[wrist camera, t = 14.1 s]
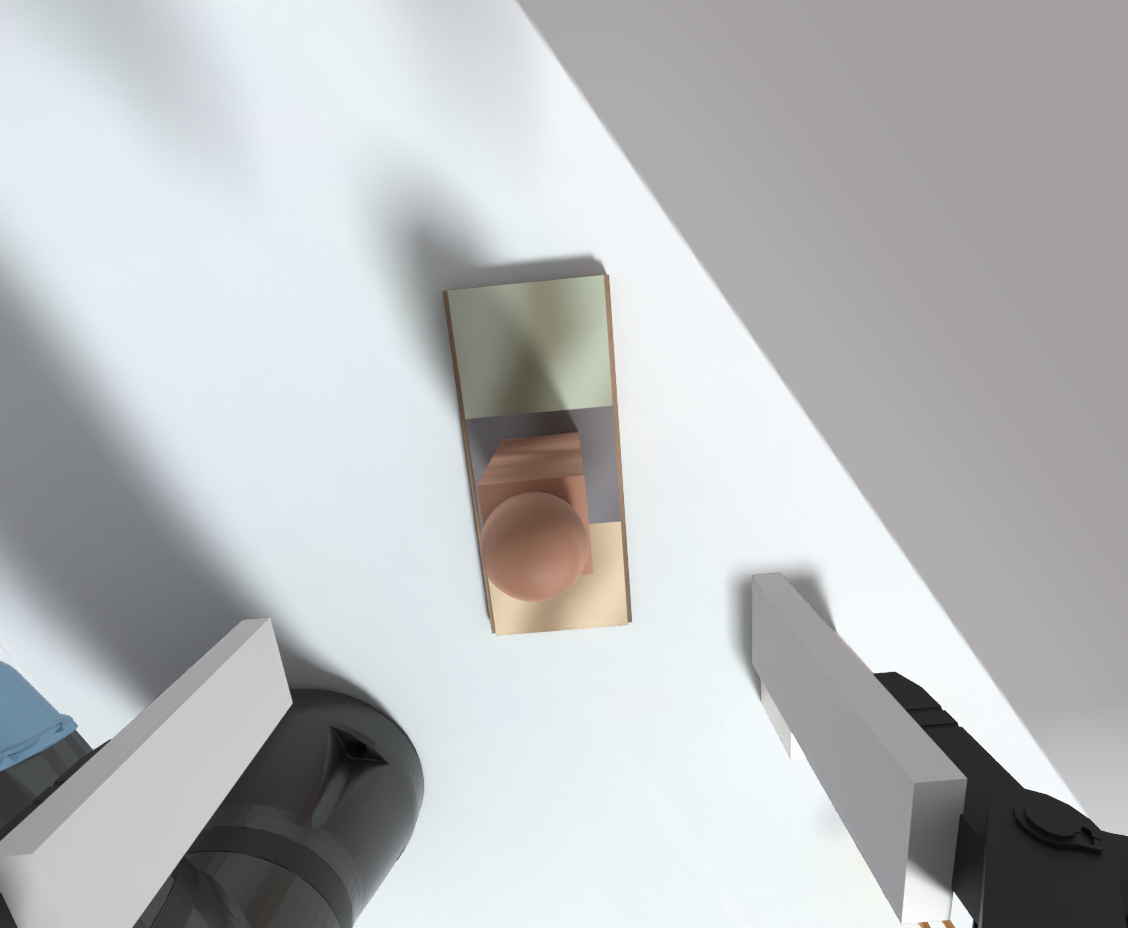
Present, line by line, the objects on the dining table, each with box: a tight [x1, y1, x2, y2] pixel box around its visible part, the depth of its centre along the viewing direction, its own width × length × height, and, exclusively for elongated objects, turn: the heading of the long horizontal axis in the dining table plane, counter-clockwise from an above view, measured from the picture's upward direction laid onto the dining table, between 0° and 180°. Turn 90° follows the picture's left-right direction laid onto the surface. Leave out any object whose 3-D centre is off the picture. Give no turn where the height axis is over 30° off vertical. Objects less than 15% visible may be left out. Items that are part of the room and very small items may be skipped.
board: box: [443, 275, 632, 636], centre depth 31 cm, size 9×21×1 cm, turn 5°
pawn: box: [477, 432, 593, 602], centre depth 24 cm, size 4×4×13 cm
